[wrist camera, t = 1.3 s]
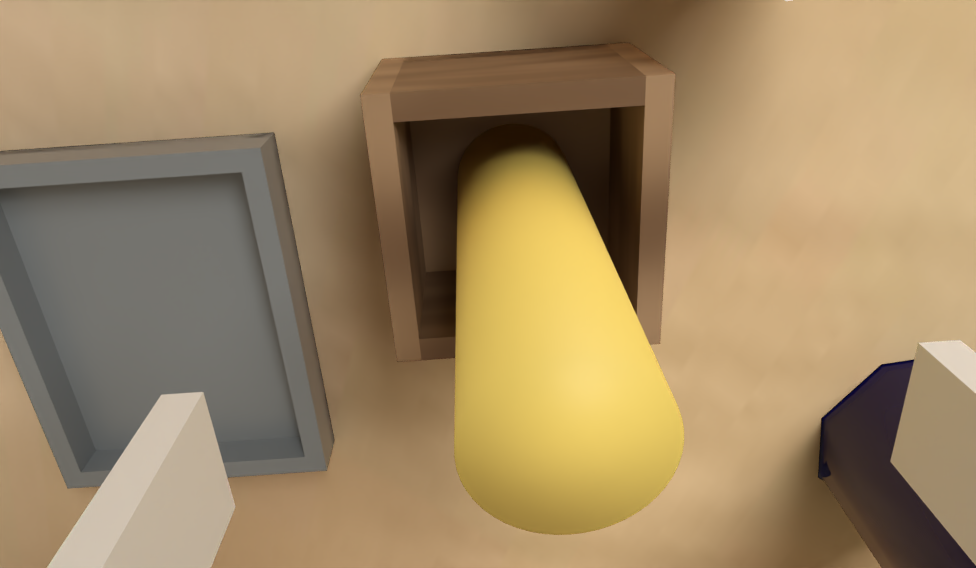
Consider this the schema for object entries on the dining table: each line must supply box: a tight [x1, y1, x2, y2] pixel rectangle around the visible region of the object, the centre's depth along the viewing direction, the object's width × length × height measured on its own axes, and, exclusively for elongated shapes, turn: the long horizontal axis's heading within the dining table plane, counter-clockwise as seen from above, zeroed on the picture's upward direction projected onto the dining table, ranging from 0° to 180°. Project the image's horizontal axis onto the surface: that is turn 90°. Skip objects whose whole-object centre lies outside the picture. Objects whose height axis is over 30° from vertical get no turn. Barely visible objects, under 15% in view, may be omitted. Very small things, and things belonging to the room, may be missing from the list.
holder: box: [360, 43, 675, 362], centre depth 24 cm, size 9×9×6 cm
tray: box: [0, 133, 334, 488], centre depth 28 cm, size 14×11×2 cm
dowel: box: [454, 124, 684, 535], centre depth 19 cm, size 4×4×15 cm
